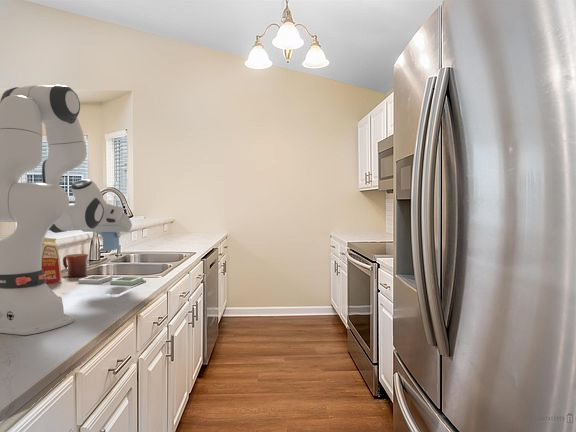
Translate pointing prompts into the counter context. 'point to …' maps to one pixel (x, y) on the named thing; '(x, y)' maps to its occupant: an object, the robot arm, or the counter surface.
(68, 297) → the counter surface
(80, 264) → the mug
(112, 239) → the light blue block
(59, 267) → the red sauce bottle
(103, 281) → the panel
